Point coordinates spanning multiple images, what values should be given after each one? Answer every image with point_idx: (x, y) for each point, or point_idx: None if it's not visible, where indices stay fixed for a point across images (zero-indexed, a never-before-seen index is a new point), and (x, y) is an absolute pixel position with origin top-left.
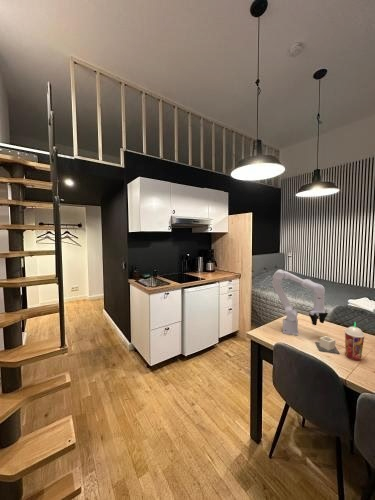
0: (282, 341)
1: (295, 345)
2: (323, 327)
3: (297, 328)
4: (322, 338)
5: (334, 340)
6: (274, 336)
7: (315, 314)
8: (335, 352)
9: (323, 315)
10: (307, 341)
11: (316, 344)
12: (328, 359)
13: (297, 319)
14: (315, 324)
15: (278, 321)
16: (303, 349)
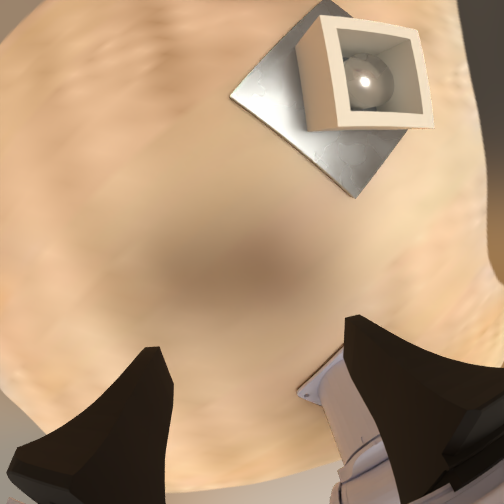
0: (489, 283)
1: (481, 221)
2: (52, 368)
3: (350, 385)
4: (406, 114)
5: (333, 17)
6: (471, 339)
7: (470, 464)
8: (349, 15)
9: (123, 466)
10: (384, 237)
11: (384, 159)
12: (439, 22)
13: (363, 453)
14: (371, 322)
15: (287, 472)
16: (481, 165)
